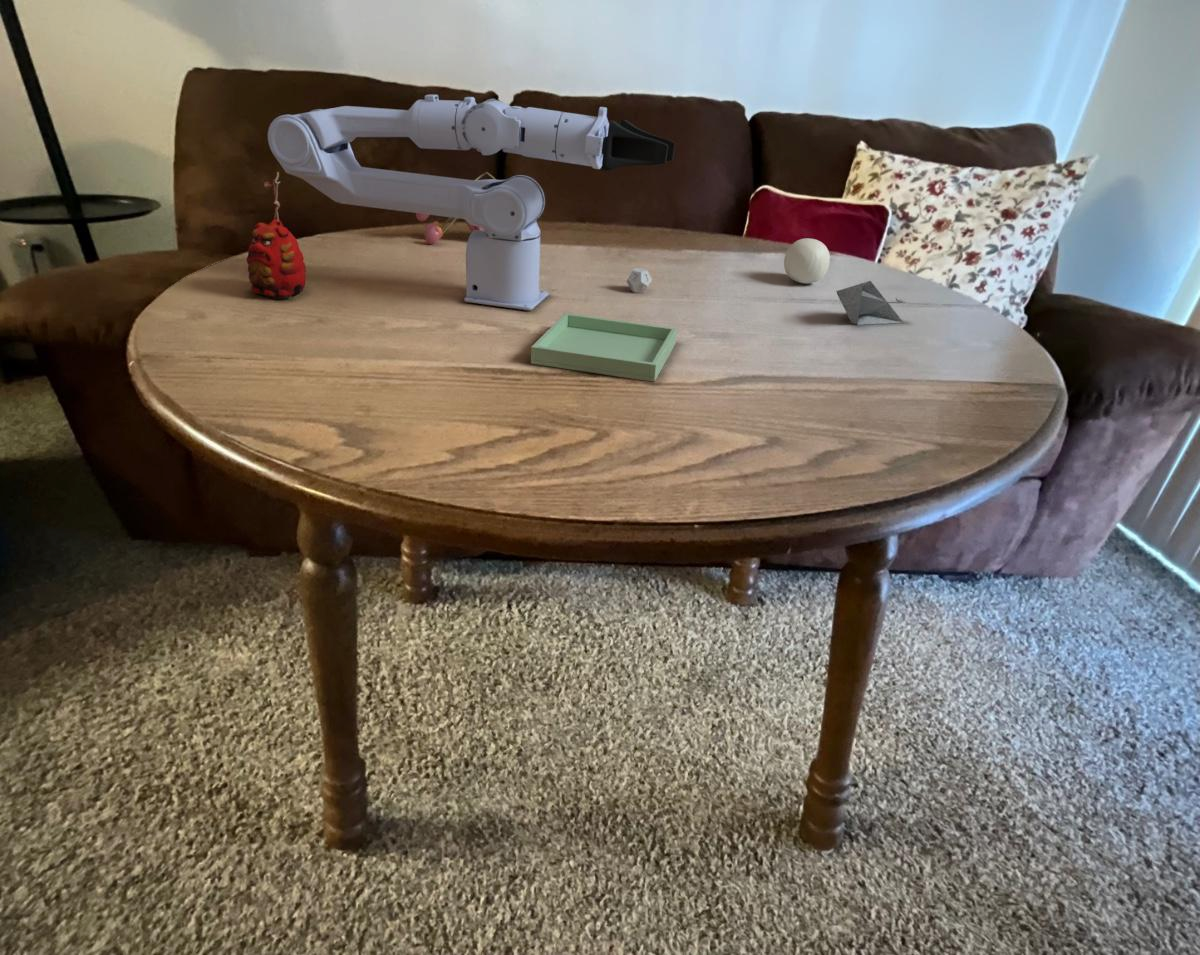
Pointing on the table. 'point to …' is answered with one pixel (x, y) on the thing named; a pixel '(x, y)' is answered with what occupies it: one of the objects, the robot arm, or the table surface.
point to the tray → (605, 347)
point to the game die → (639, 280)
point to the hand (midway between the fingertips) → (670, 153)
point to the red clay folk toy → (275, 257)
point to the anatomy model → (434, 229)
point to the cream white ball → (807, 260)
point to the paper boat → (867, 305)
